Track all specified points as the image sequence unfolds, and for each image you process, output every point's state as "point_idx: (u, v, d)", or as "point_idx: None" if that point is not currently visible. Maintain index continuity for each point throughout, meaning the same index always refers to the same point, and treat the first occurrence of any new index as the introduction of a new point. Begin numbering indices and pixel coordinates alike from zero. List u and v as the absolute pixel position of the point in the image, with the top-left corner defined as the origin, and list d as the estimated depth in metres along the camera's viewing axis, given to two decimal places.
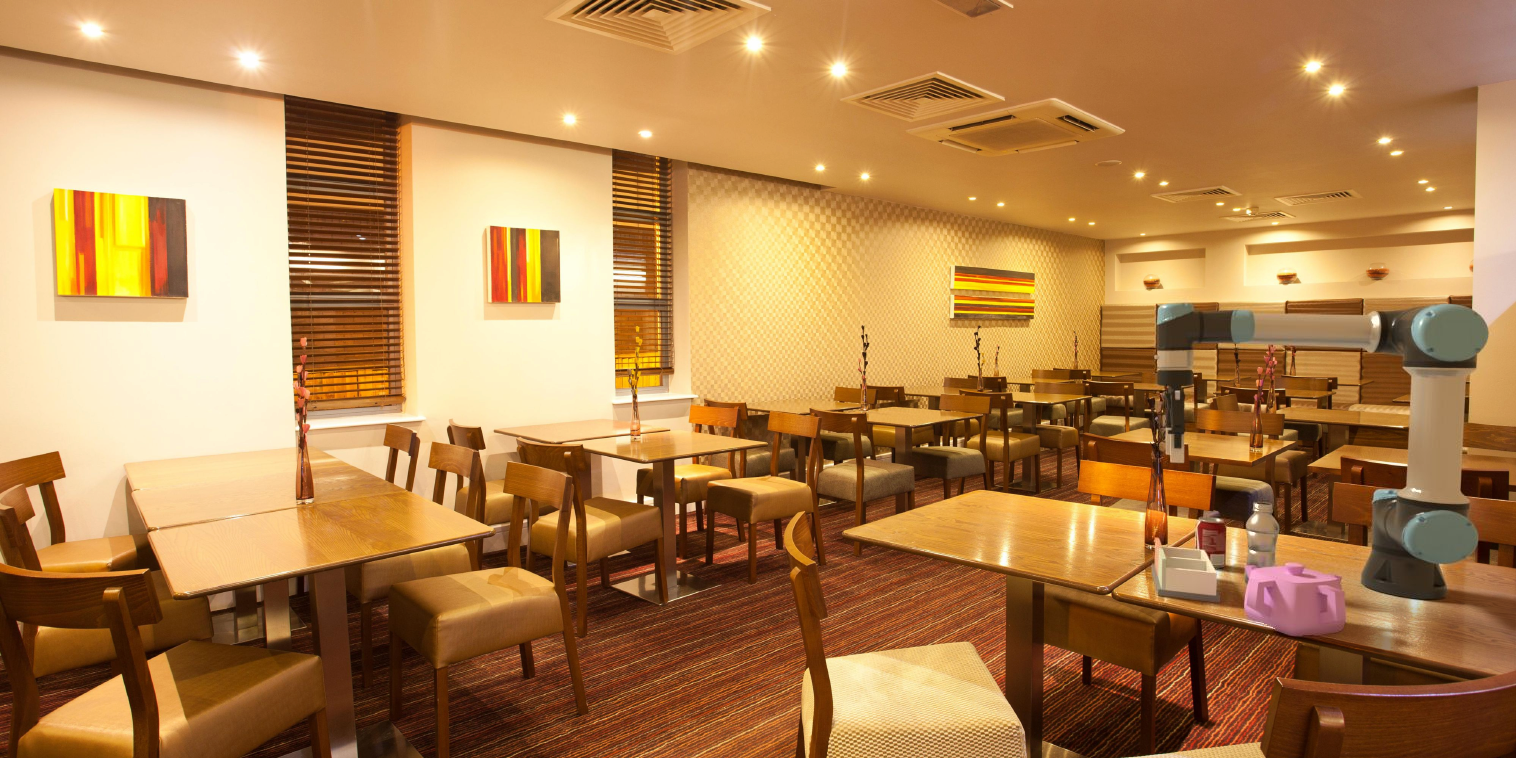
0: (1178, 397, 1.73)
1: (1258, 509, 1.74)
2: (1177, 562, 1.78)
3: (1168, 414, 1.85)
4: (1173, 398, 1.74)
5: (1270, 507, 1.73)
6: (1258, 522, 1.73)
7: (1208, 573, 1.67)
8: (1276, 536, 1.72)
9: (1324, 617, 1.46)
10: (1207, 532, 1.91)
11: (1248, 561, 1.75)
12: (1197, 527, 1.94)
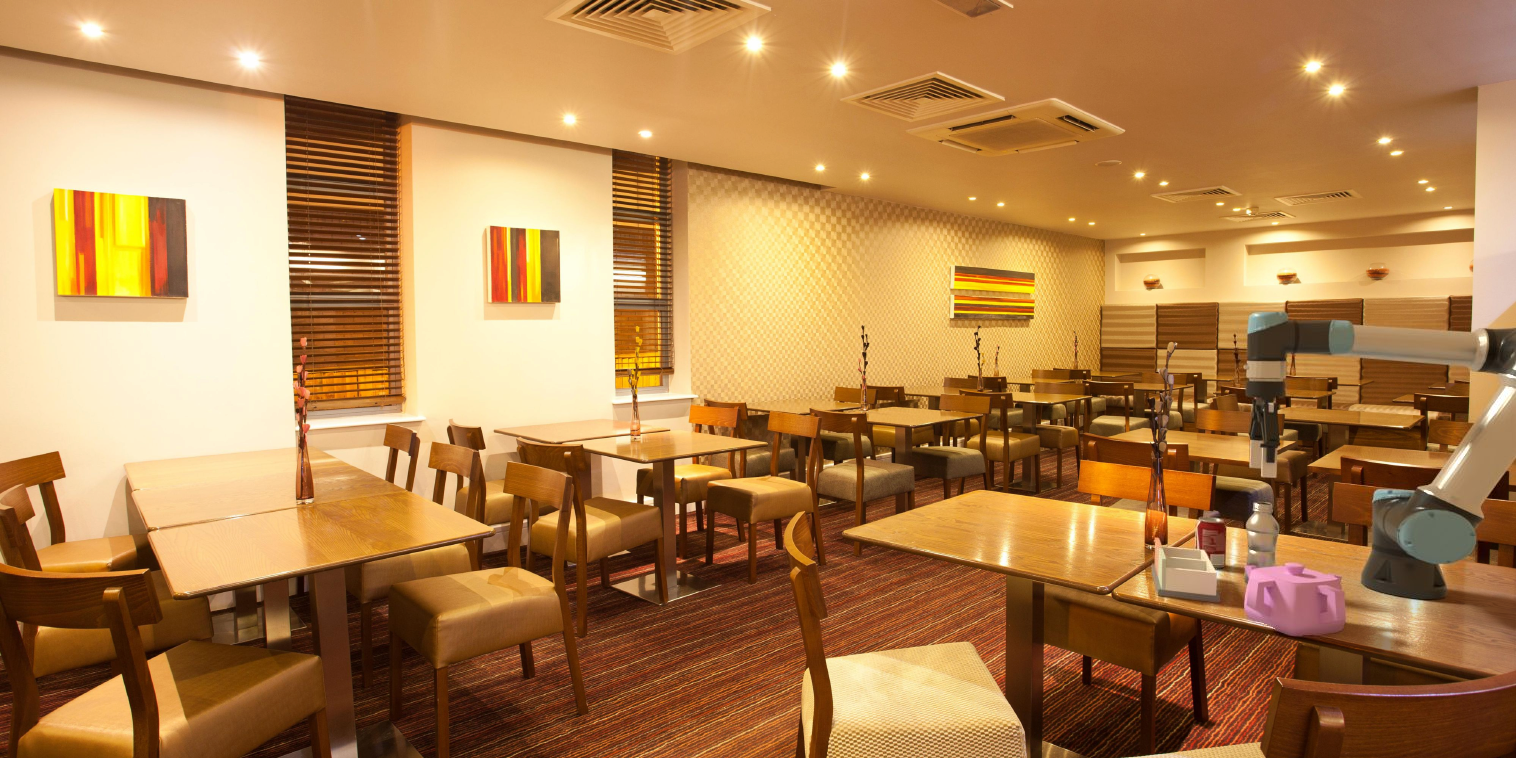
0: (1272, 409, 1.67)
1: (1259, 509, 1.74)
2: (1177, 562, 1.78)
3: (1254, 426, 1.78)
4: (1266, 410, 1.68)
5: (1270, 507, 1.73)
6: (1258, 522, 1.73)
7: (1208, 573, 1.67)
8: (1276, 536, 1.72)
9: (1324, 617, 1.46)
10: (1207, 532, 1.91)
11: (1248, 561, 1.75)
12: (1197, 527, 1.94)
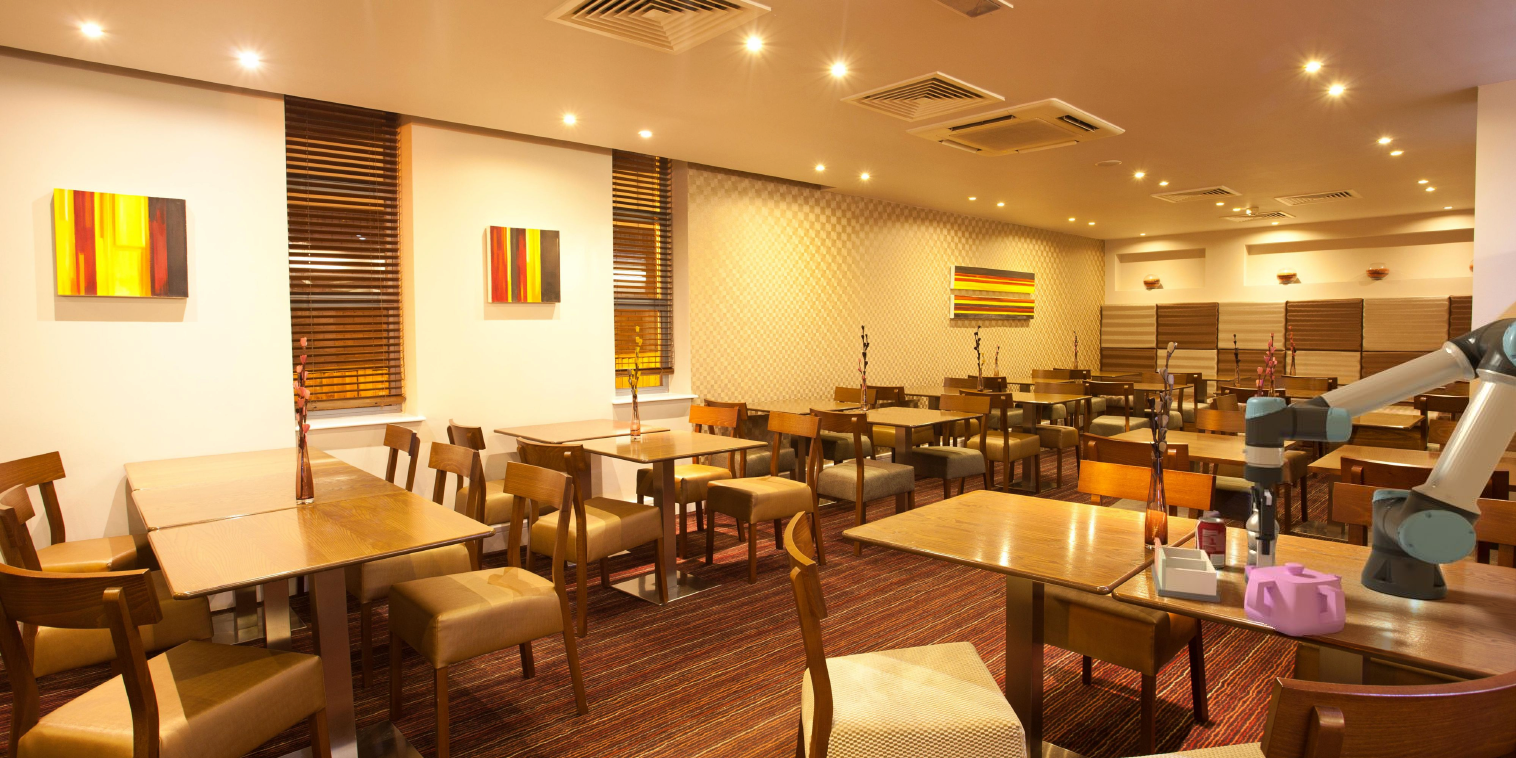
0: (1270, 503, 1.68)
1: None
2: (1177, 562, 1.78)
3: None
4: (1264, 504, 1.69)
5: None
6: None
7: (1208, 573, 1.67)
8: (1276, 536, 1.72)
9: (1324, 617, 1.46)
10: (1207, 532, 1.91)
11: (1248, 561, 1.75)
12: (1197, 527, 1.94)
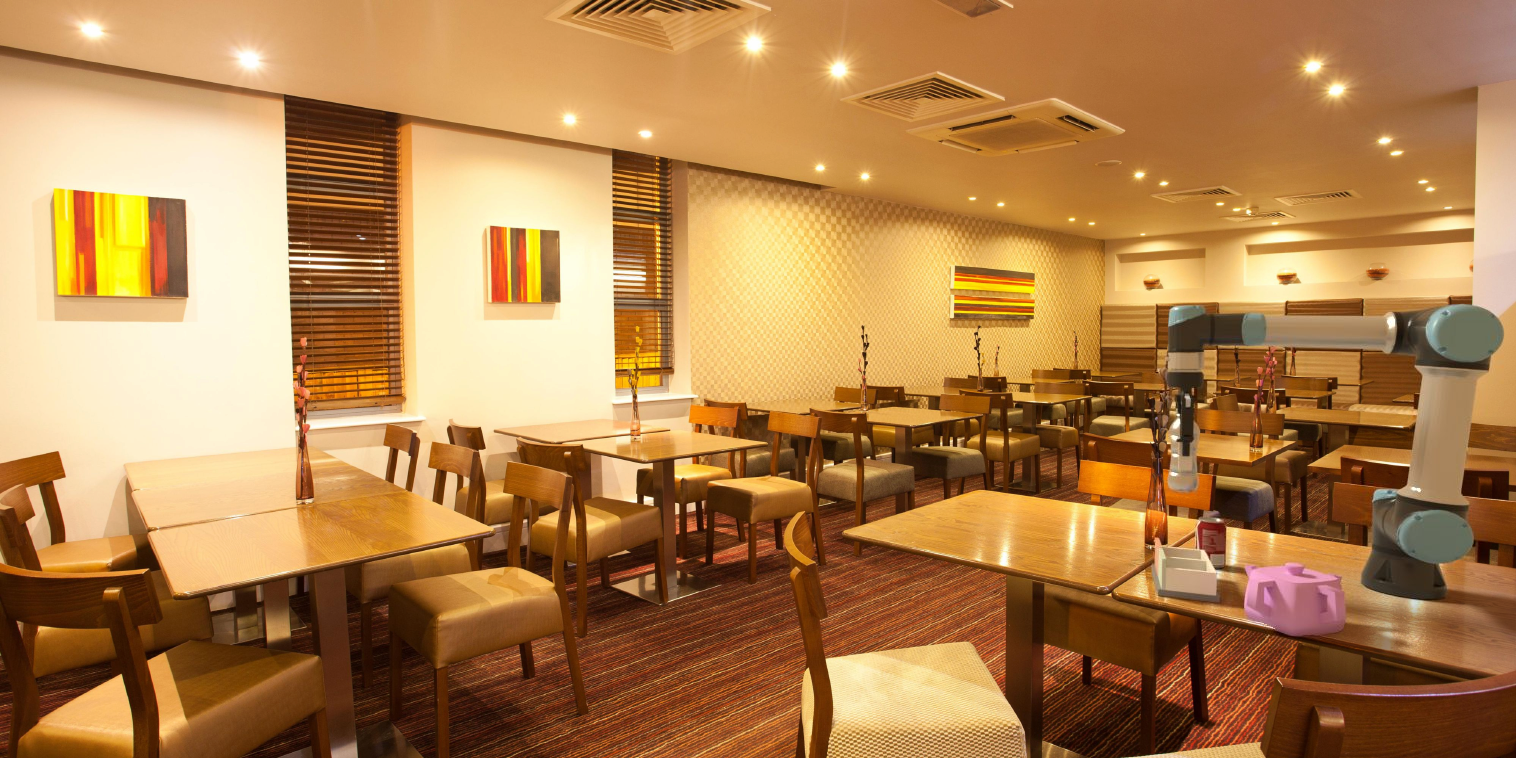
0: (1189, 405, 1.75)
1: None
2: (1177, 562, 1.78)
3: None
4: (1183, 406, 1.75)
5: None
6: None
7: (1208, 573, 1.67)
8: (1197, 439, 1.79)
9: (1324, 617, 1.46)
10: (1207, 532, 1.91)
11: (1171, 465, 1.82)
12: (1197, 527, 1.94)
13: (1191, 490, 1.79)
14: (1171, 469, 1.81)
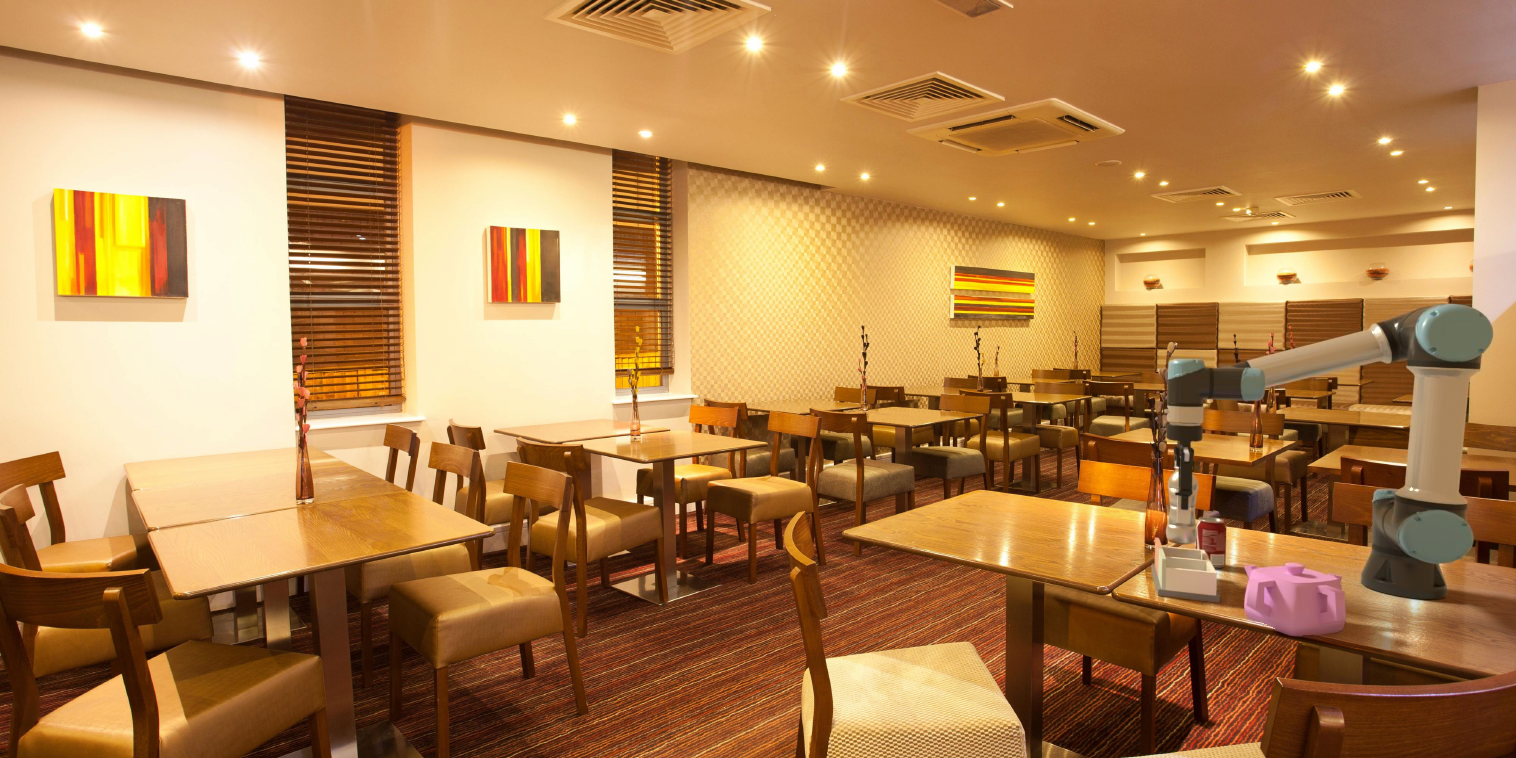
0: (1188, 459, 1.75)
1: None
2: (1177, 562, 1.78)
3: None
4: (1182, 460, 1.76)
5: None
6: (1178, 479, 1.80)
7: (1208, 573, 1.67)
8: (1195, 492, 1.79)
9: (1324, 617, 1.46)
10: (1207, 532, 1.91)
11: (1169, 517, 1.82)
12: (1197, 527, 1.94)
13: (1189, 543, 1.80)
14: (1169, 521, 1.82)
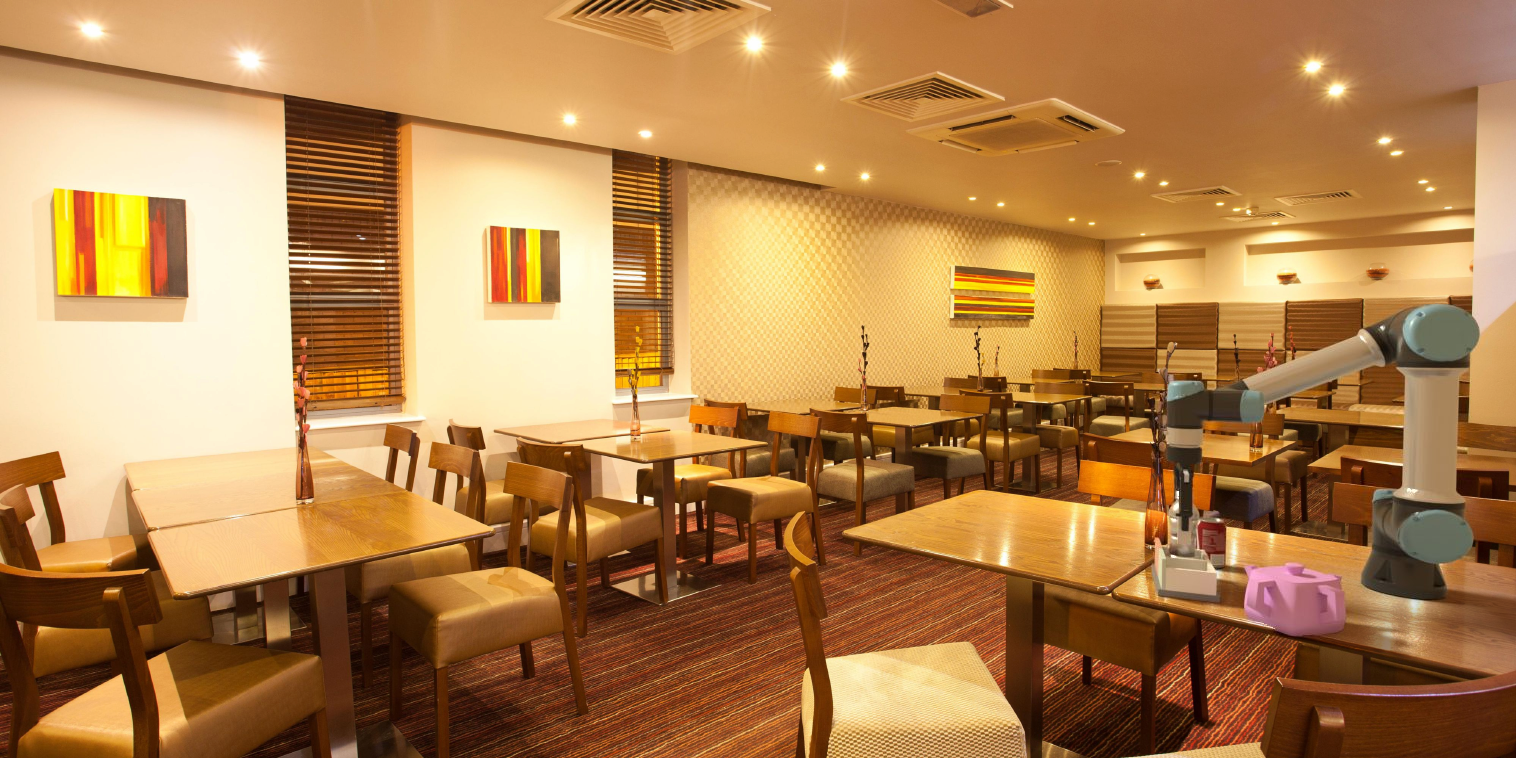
0: (1187, 480, 1.75)
1: None
2: (1177, 562, 1.78)
3: None
4: (1182, 481, 1.76)
5: None
6: None
7: (1208, 573, 1.67)
8: (1196, 523, 1.79)
9: (1324, 617, 1.46)
10: (1207, 532, 1.91)
11: (1170, 546, 1.82)
12: (1197, 527, 1.94)
13: None
14: (1170, 551, 1.82)
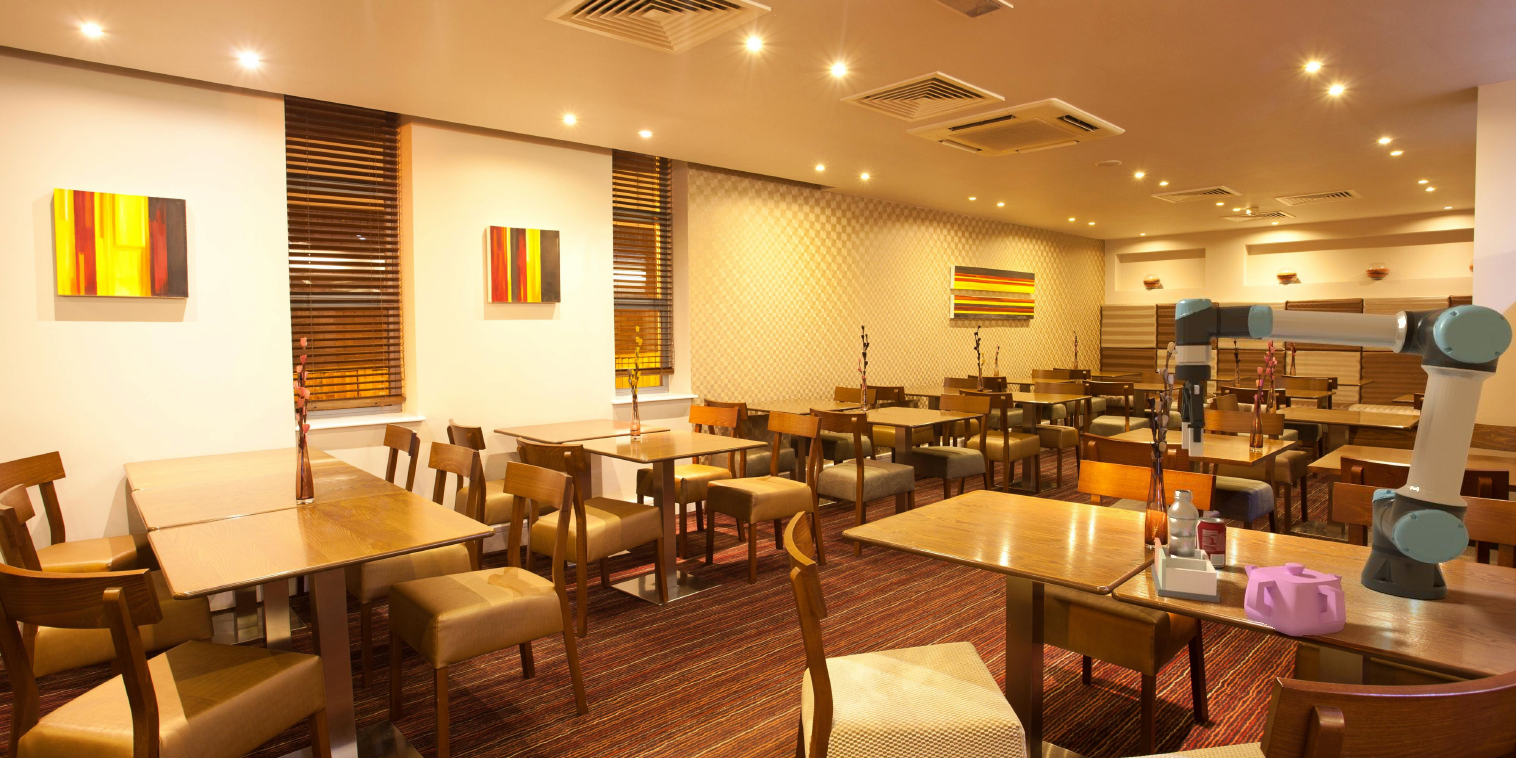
0: (1198, 391, 1.75)
1: (1179, 496, 1.81)
2: (1177, 562, 1.78)
3: (1185, 409, 1.86)
4: (1192, 392, 1.76)
5: (1189, 494, 1.80)
6: (1178, 509, 1.80)
7: (1208, 573, 1.67)
8: (1195, 522, 1.79)
9: (1324, 617, 1.46)
10: (1207, 532, 1.91)
11: (1170, 547, 1.82)
12: (1197, 527, 1.94)
13: None
14: (1170, 551, 1.82)
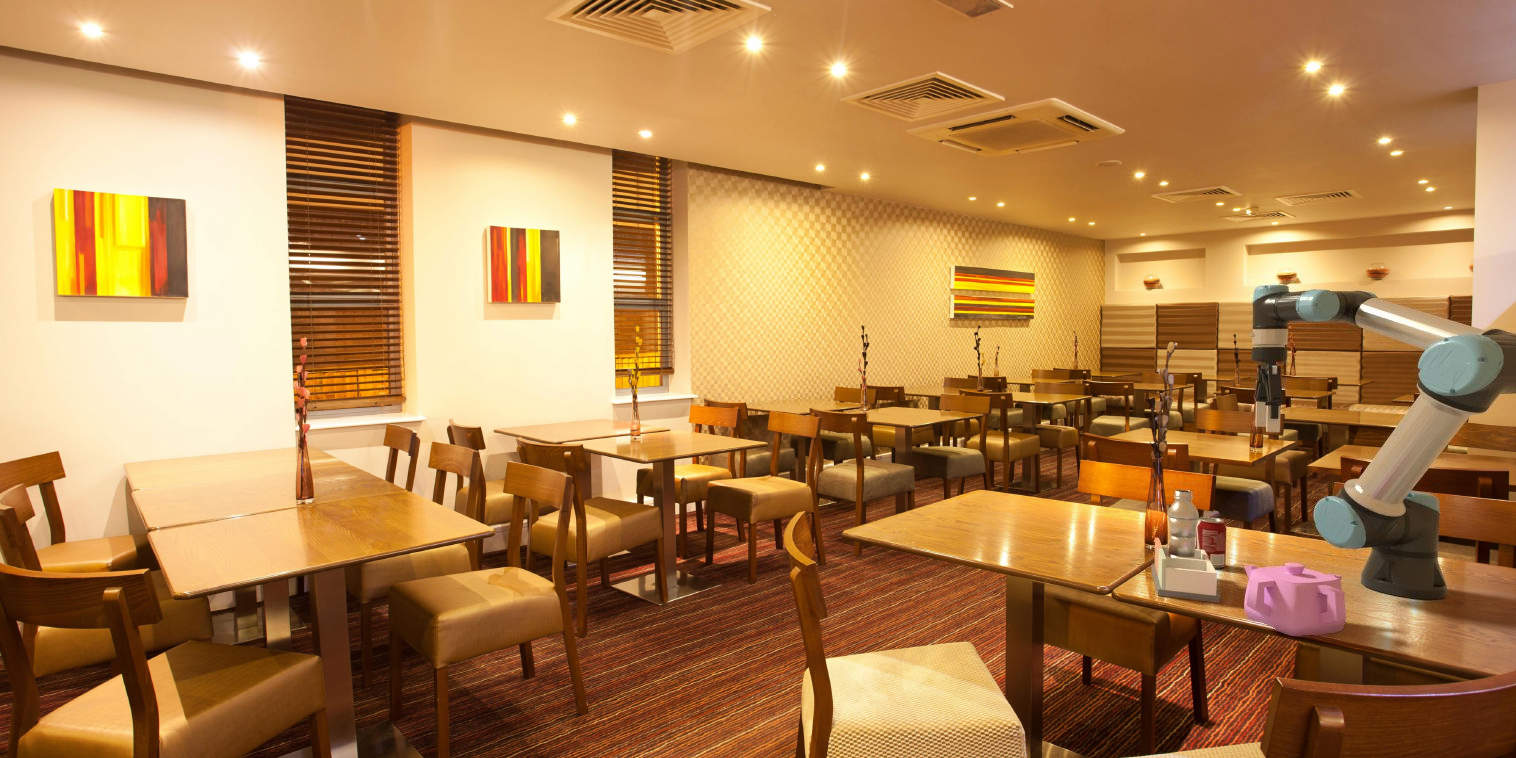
0: (1276, 371, 1.88)
1: (1179, 496, 1.81)
2: (1177, 562, 1.78)
3: (1260, 389, 1.99)
4: (1270, 372, 1.88)
5: (1189, 494, 1.80)
6: (1178, 509, 1.80)
7: (1208, 573, 1.67)
8: (1195, 522, 1.79)
9: (1324, 617, 1.46)
10: (1207, 532, 1.91)
11: (1170, 547, 1.82)
12: (1197, 527, 1.94)
13: None
14: (1170, 551, 1.82)
